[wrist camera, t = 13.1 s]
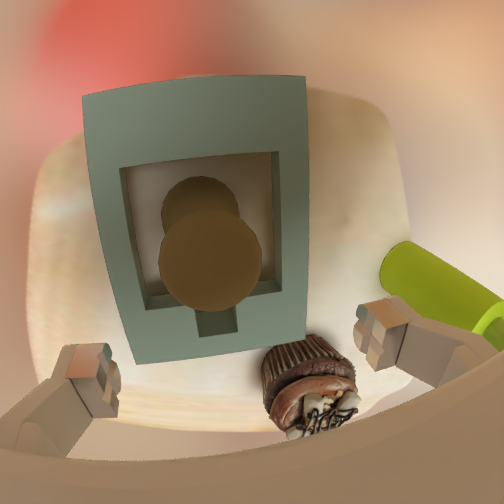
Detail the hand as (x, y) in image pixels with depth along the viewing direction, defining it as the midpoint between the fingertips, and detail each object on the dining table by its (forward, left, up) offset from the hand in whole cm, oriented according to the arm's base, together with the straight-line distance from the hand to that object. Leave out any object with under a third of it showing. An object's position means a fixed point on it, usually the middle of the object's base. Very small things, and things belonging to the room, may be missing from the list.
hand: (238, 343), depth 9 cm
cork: (0, 0, -16) cm, 16 cm away
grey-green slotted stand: (0, 0, -16) cm, 16 cm away
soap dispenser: (+8, +20, -16) cm, 27 cm away
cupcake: (+17, +8, -16) cm, 25 cm away
